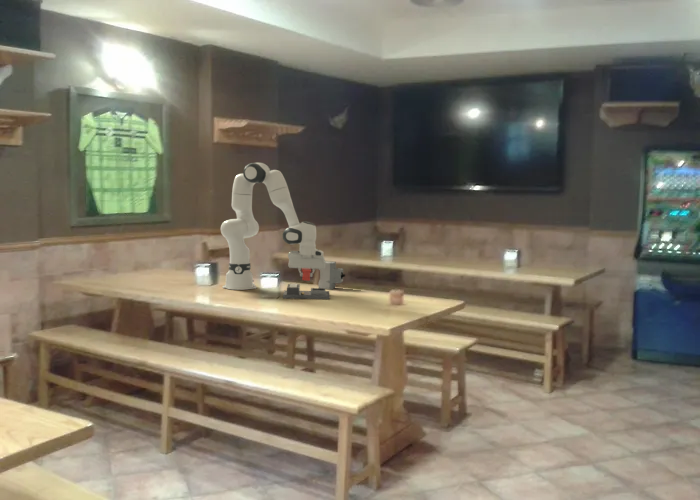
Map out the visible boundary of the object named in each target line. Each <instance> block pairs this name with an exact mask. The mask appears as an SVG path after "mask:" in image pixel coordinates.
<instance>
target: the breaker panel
mask: <svg viewBox="0 0 700 500" xmlns="http://www.w3.org/2000/svg"><path fill="white" fill-rule="evenodd" d="M290 284H291V283H288V284H287V287H286V290H284V291H283V294H282V298H283V299H290V300H291V299H292V300H293V299H294V300H295V299H297V300H299V299H300V300H330V291H329V290H328V291H326V289H325V288H319V287H318V288H317V287H311V288H310V290H301V289H300V288H301V287H300V286H301V285H300V283H299V284H298V283H297V284H298V288H289V286H290Z"/></svg>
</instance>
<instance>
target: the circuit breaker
mask: <svg viewBox="0 0 700 500" xmlns="http://www.w3.org/2000/svg"><path fill="white" fill-rule="evenodd" d="M318 271H319V272H320V273H319V274H320V275H319V280H318V288H325V290H334V289H336V284H341V283H343V281H344V277H346V274H345V273H344V268H339V267H338V268H337V262H336V261H327V260H325V269H318Z"/></svg>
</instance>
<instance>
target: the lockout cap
mask: <svg viewBox="0 0 700 500" xmlns="http://www.w3.org/2000/svg"><path fill="white" fill-rule="evenodd" d="M301 272H302V273H303V277H302V280H301V281H307V282H308V281H311V277H310V273H312V269H306V268H301Z"/></svg>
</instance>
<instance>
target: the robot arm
mask: <svg viewBox="0 0 700 500" xmlns="http://www.w3.org/2000/svg"><path fill="white" fill-rule="evenodd" d="M242 171H243V172H242V173H238V174H237V175H236V176H235V177H234V180H233V184H232V190H231V191H232V192H231V208H232V210H233V211H234V212H235V214H236V215H235V216H236V218H230V219H227V220H225V221H223V222H222V223H221V225H220V234H221V235H222V236H223V237H224V239H225V240H226V241H227V246H228V248H229V263H228V272H226V273H225V284H224V285H222V288H223V289H228V290H233V291H235V290H236V291H237V290H238V291H240V290H242V291H243V290H253V289H255V290H256V289H257V285H256V284H255V279H254V274H253V273H252V271H251V262H250V260H251V255H250V254H251V251H250V248H249V247H248V246H247V245H246V243H245V242H246V241H245V239H249V238H252V237H255V236H256V235H258V233H259V230H260V224H259V223H258V221H257V220H256V219H255V217H254V213H253V189H254V186H255V184H261V183H262V184H264V185H265V188H266V189H267V192H268V195H269V199H270V201H271V203H272V204H273V205H274V206H276V207H277V208H279V209H280V210H281V211H282V212H283V214H284V216H285V219H286V222H287V224H288V227H287V228H286V229H284V230H283V232H282V239H283V241H284V242H285V244H287V245H296V244H298V245H299V248H298V249H299V250H290V251H289V252H288V253H287V257H288V264H287V265H288V266H287V267H289V269H298V273H299V277H302V278H303V272H302V268H306V269H311V272H310V278H313V276H314V275H313V274H314V273H316V272H315V271H316V270H319V269H325V261H326V258H325V256H324V255H325V254H324V253H325V252H324V251H323V250H321V249H319V248H316V247H317V245H316V240H317V226H316V224H315V223H313V222H310V221H306V220H305V221H304V220H303V221H301V222H300V219H299V217H298V214H297V212H296V209H295V207H294V204H293V200H292V197H291V194H290V190H289V186H288V183H287V181H286V179H285V177H284V175H283V173H282V172H281V171H280V170H277V169H272V168H271V167H270V166H269V164H267V163H265V162H258V161H257V162H251V163H248V164H246V165H245V166H244V168H243V170H242Z"/></svg>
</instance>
